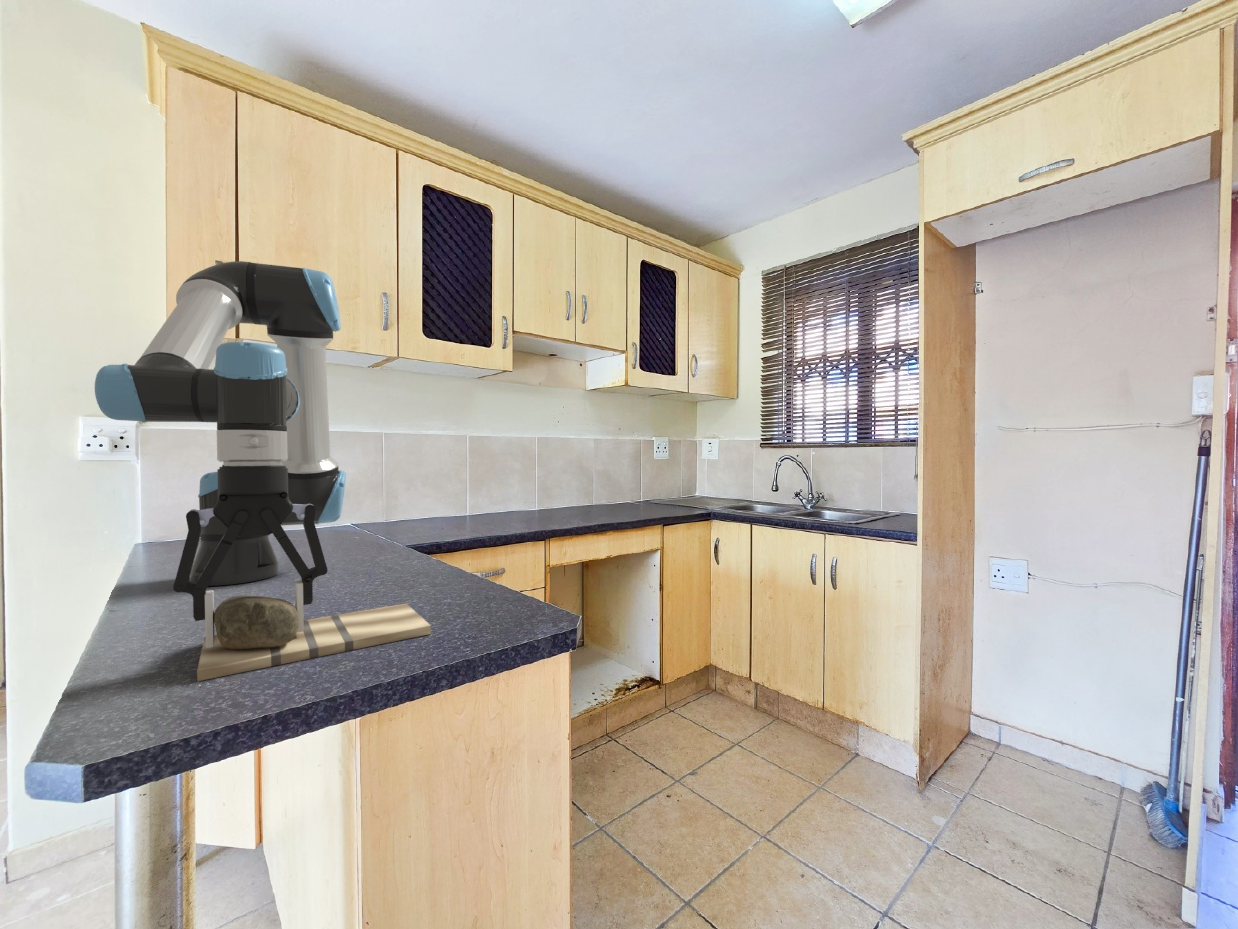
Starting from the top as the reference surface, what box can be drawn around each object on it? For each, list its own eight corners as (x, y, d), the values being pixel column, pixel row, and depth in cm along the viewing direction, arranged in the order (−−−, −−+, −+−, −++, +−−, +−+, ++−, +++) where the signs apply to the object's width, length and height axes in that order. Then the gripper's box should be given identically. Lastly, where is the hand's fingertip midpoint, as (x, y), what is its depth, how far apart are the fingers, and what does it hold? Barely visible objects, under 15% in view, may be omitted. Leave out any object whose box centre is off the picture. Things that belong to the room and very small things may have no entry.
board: (204, 645, 71) (204, 636, 71) (406, 610, 86) (406, 603, 86) (197, 681, 59) (197, 670, 59) (431, 634, 74) (430, 625, 74)
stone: (217, 657, 60) (207, 575, 63) (222, 679, 70) (213, 607, 73) (304, 634, 65) (291, 559, 68) (297, 657, 75) (286, 591, 78)
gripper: (136, 465, 59) (140, 665, 59) (350, 463, 71) (353, 627, 71) (146, 465, 65) (150, 646, 65) (342, 462, 77) (345, 614, 78)
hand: (256, 636), depth 68 cm, fingers closed on stone, 9 cm apart
